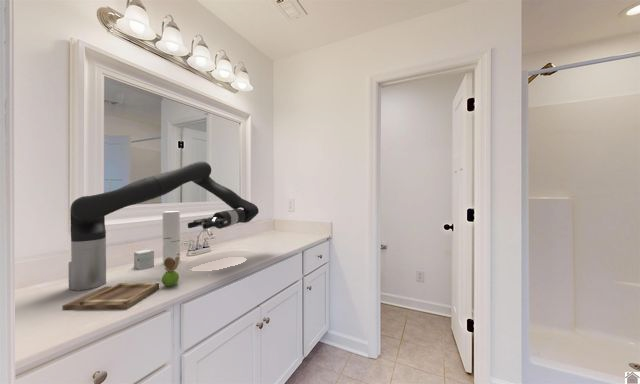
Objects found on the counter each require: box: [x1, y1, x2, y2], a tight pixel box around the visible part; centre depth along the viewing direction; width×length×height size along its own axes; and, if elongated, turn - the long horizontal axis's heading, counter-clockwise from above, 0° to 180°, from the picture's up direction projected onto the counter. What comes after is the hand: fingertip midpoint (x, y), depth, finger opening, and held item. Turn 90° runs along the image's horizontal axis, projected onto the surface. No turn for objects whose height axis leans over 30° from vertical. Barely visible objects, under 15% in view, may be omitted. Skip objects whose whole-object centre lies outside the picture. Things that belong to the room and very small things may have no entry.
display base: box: [62, 282, 160, 310], centre depth 77 cm, size 19×14×2 cm
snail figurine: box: [161, 252, 181, 287], centre depth 87 cm, size 5×6×12 cm
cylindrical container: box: [162, 210, 181, 266], centre depth 116 cm, size 7×7×25 cm
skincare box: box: [133, 248, 155, 270], centre depth 109 cm, size 6×6×7 cm
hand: (195, 226), depth 96 cm, fingers open, 8 cm apart
